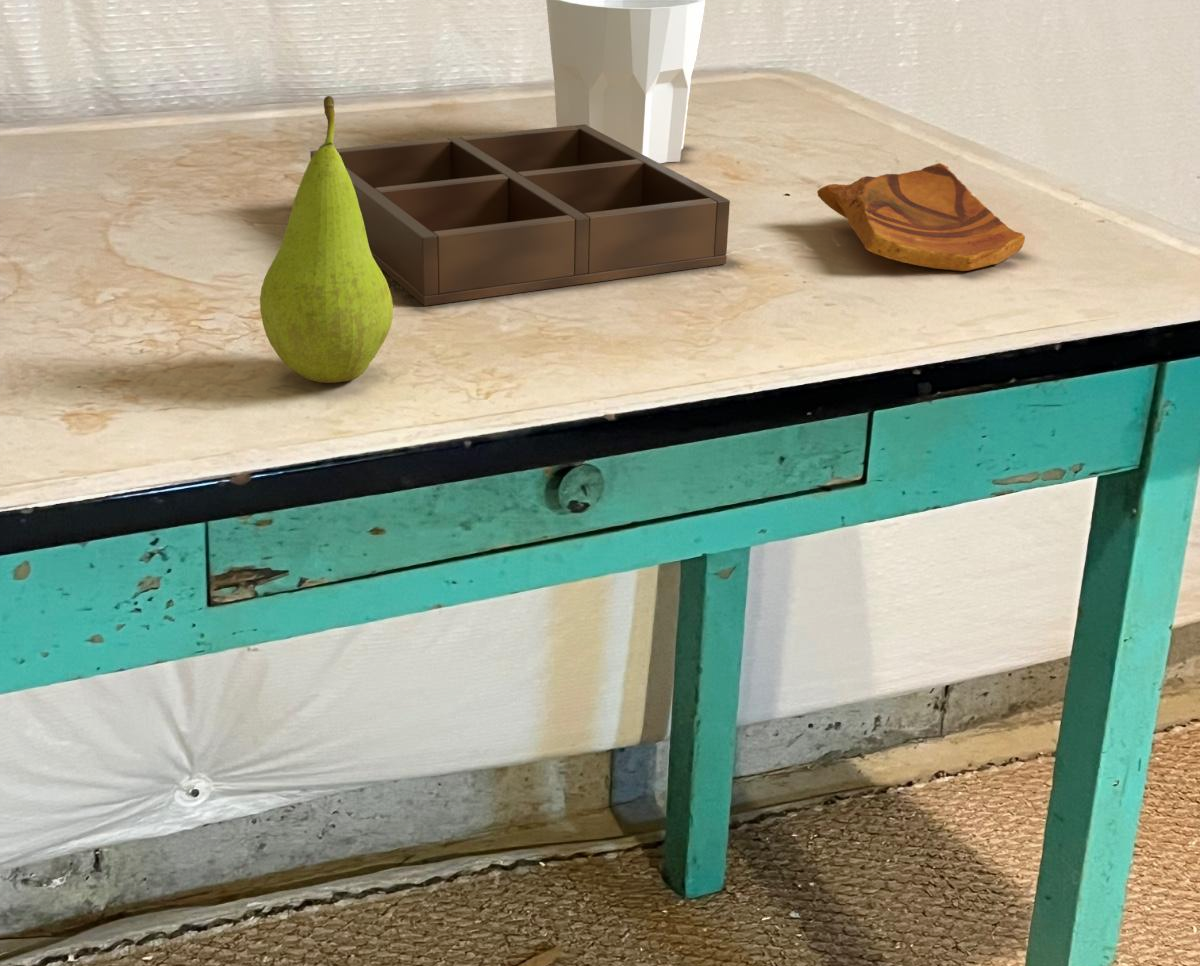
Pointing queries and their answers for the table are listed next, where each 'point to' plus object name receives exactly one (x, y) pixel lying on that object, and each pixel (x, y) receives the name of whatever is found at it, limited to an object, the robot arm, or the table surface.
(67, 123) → the table surface
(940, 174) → the pottery fragment
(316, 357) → the fruit
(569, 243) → the grid
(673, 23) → the cup
